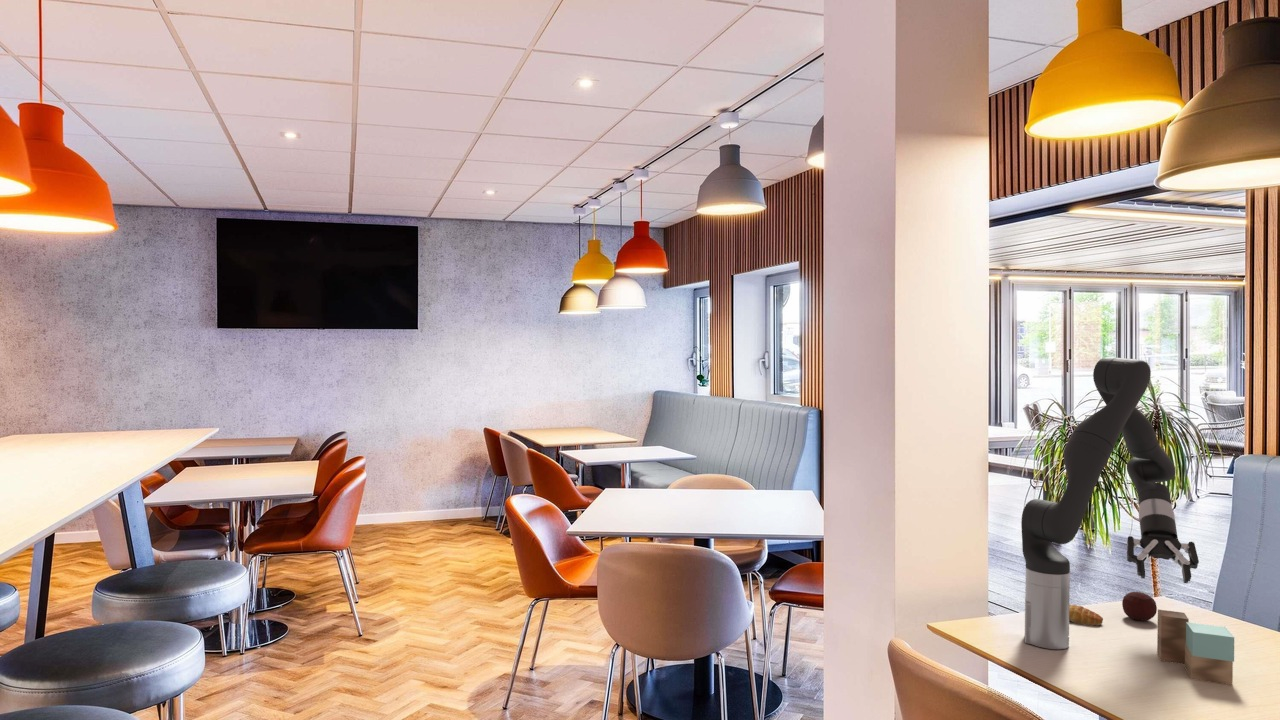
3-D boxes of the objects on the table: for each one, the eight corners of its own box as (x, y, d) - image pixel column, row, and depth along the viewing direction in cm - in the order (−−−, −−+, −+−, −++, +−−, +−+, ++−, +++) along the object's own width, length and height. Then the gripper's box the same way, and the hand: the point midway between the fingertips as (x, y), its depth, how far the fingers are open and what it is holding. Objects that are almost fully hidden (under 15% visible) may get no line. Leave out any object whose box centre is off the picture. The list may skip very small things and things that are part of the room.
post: (1160, 660, 173) (1161, 615, 173) (1157, 653, 178) (1157, 609, 178) (1188, 664, 171) (1188, 619, 171) (1183, 657, 176) (1184, 612, 176)
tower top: (1193, 656, 163) (1193, 632, 163) (1185, 645, 170) (1186, 622, 170) (1234, 661, 160) (1234, 637, 160) (1225, 650, 167) (1225, 626, 167)
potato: (1132, 613, 206) (1132, 586, 206) (1163, 622, 199) (1163, 594, 199) (1115, 617, 203) (1115, 590, 203) (1145, 626, 196) (1146, 598, 196)
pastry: (1105, 623, 199) (1106, 608, 199) (1098, 629, 194) (1098, 614, 194) (1065, 614, 205) (1065, 599, 205) (1057, 620, 200) (1057, 605, 200)
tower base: (1191, 679, 163) (1191, 655, 163) (1184, 667, 170) (1184, 644, 170) (1232, 685, 160) (1232, 661, 160) (1224, 673, 167) (1224, 650, 167)
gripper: (1125, 510, 196) (1130, 567, 186) (1193, 515, 190) (1203, 574, 179) (1122, 527, 201) (1127, 583, 190) (1189, 533, 195) (1198, 591, 184)
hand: (1164, 579), depth 185 cm, fingers open, 8 cm apart
